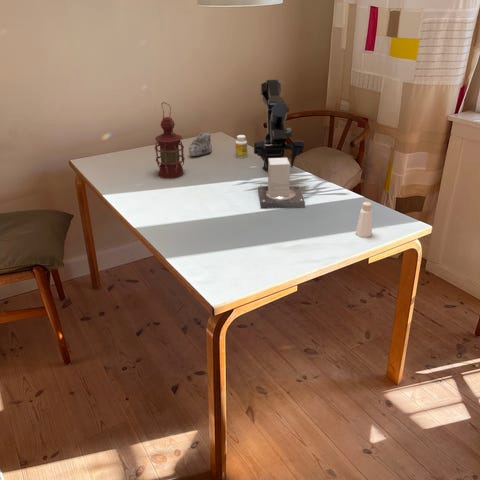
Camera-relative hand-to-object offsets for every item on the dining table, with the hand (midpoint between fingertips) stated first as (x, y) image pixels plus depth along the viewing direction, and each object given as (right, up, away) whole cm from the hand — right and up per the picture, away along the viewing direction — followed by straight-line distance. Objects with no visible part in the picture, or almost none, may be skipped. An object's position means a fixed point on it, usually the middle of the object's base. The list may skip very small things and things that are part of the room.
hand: (279, 167), depth 196 cm
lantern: (-44, +1, +25) cm, 51 cm away
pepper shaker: (+26, -25, -25) cm, 44 cm away
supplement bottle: (-14, +11, +45) cm, 48 cm away
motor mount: (0, -12, 0) cm, 12 cm away
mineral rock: (-34, +13, +49) cm, 61 cm away
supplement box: (-1, -10, 0) cm, 10 cm away
